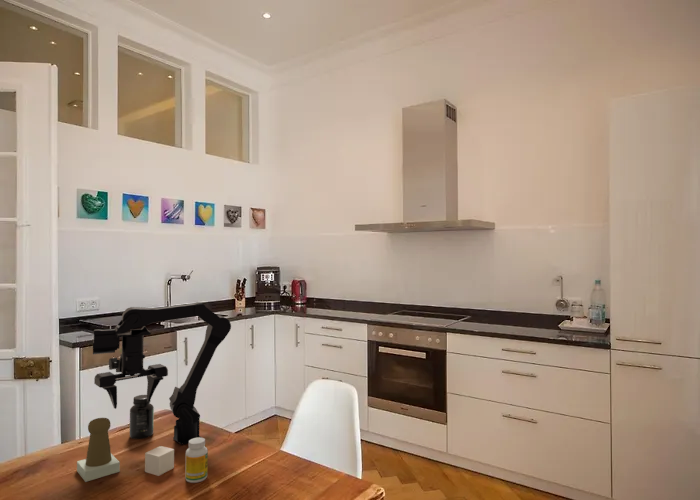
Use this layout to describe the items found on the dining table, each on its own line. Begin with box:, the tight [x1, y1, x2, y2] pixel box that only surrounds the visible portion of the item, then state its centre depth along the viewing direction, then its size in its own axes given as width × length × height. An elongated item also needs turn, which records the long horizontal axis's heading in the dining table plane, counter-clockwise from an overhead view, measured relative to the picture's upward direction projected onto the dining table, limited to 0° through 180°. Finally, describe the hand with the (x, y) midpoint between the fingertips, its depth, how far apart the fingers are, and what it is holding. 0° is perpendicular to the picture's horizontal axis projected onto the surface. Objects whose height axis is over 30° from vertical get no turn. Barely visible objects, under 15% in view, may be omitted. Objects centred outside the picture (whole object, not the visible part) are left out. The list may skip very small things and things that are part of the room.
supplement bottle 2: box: [184, 437, 209, 484], centre depth 117 cm, size 5×5×10 cm
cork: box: [85, 417, 112, 467], centre depth 120 cm, size 6×6×11 cm
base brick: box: [76, 453, 121, 483], centre depth 120 cm, size 8×8×2 cm
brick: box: [144, 445, 175, 477], centre depth 121 cm, size 5×5×5 cm
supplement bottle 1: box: [129, 394, 155, 440], centre depth 144 cm, size 7×7×12 cm
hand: (132, 404), depth 134 cm, fingers open, 9 cm apart
